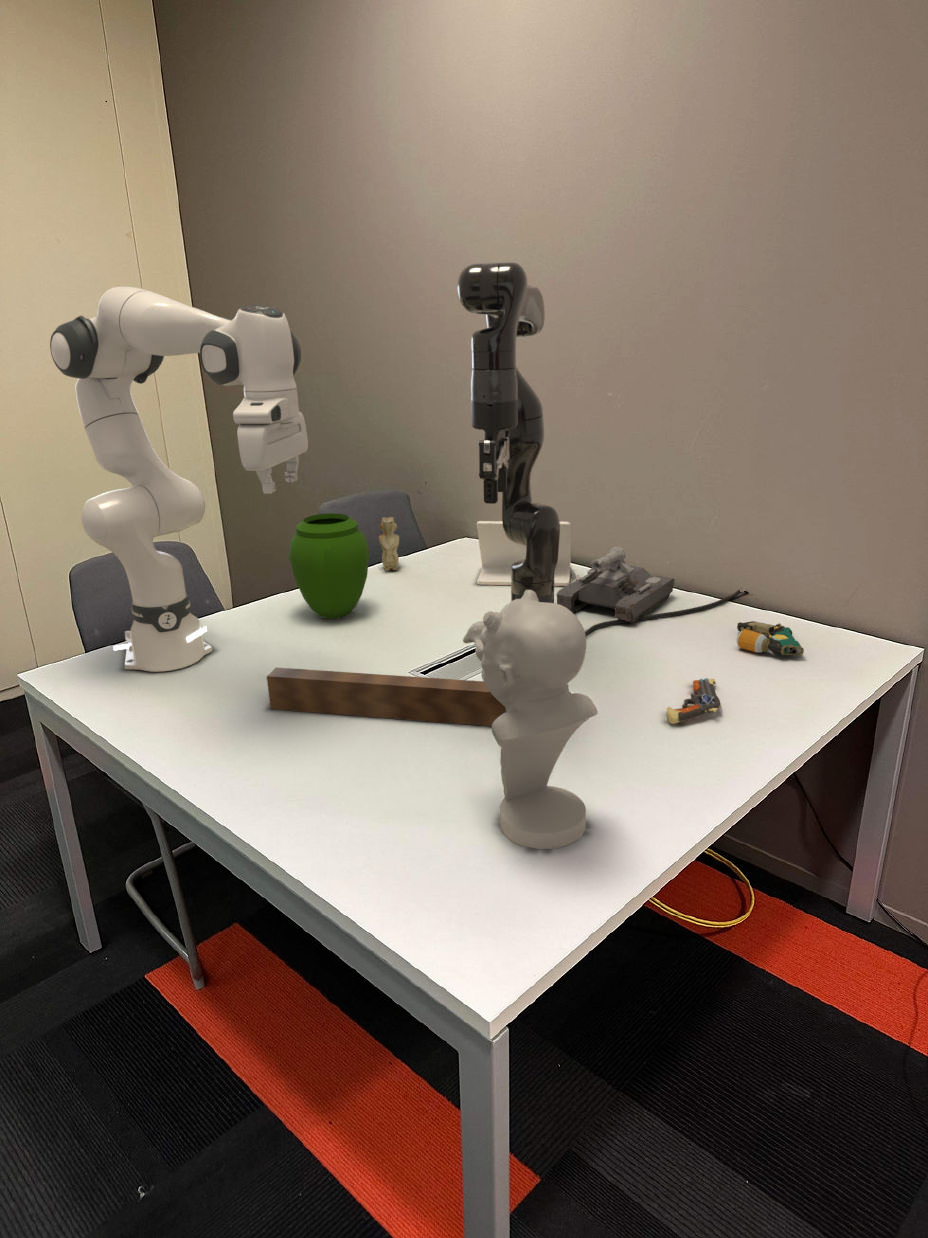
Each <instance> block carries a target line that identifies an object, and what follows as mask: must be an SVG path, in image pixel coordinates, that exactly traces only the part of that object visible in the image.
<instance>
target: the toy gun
mask: <svg viewBox="0 0 928 1238" xmlns="http://www.w3.org/2000/svg"><path fill="white" fill-rule="evenodd" d="M715 685H717V680H716V679H715V678H708V677H706V678H704V679H703V678H700V679H694V680H693V681H692V688H693V692H694V693H690V698H686V699H684V700H683V704H682V706H681V707H682V708H672V707H671V706H667V707H666V717H667V721H668V722H669V723H670V724H678V723H680V722H684V721H688V720H691V719H694V718H697V717H701V716H704V715H707V714H709V713H711V712H713V713H714V714H715V713H717V711H718V709H719V708H722V705H721V700H720V698H719V697H718V695H717V694H716V691H715ZM695 693H696V694H695Z"/></svg>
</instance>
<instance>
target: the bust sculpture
mask: <svg viewBox="0 0 928 1238" xmlns="http://www.w3.org/2000/svg"><path fill="white" fill-rule="evenodd" d="M585 632H586V631H585V629H584V627H583V624H582V622H581V621H580V620H579V618H578V617H577V616H576V615H575V613H574V612H571V611H570V610H569V609H567V608H566V607H564V606H562V605H559V604H557V603H555V602H554V603H545V602H539V599H538V597H537V595H536V593H535V592H534V591H532V590H526V591H525V592H524V595H523V597H522V598H521V599H516V600H513V601H511V600H510V602H509V603H507V604H506V605H505V606H503V607H502V608H501V610H500V611H499V612H498V611H489V610H488V611H486V612H485V613H484V615H483V616H482V621H477V622H475V623H473V624H471V626H470V627H469V628H468V629H467V632H466V634H465V635H464V636H463V638H462V643H463V644H470V643H471V644H472V643H474V644H475V649H474V650H475V655H476V657H477V658H478V660H479V661H480V665H481V679H482V681H484V682H485V683H486V686H487V688H488V689H489V690H490V691H491V694H492V695H493V696H494V697H495V698H496V699H497V700H498V701H499V702H500V703H501V704H502V705H503V706H505V708H506V713H504V714H502V715H501V716H499V717H498V718H497V719H496V720H495V721H494V722H493V724H492V726H491V733H492V735H493V737H494V739H495V742H496V743H497V745H498V746H499V747H500V759H499V760H500V761H499V762H500V775H501V782H502V787H503V795H504V797H503V798H502V800H501V801H500V804H499V808H498V809H499V828H500V830H501V832H502V833H503V835H504V836H505V837H506V838H508V839H509V840H511V841H512V842H513V843H516V844H518V845H519V846H523V847H527V848H531V849H539V850H549V849H550V850H552V849H557V848H562V847H565V846H569V845H571V844H573V843H575V842H576V841H578V840H579V839H580V838H581V837H582V835H583V834H584V833H585V831H586V822H587V808H586V805H585V803H584V801H583V800H582V799H581V798H580V797H579V796H578V795H577V794H575V793H574V792H571V791H570V790H567V789H565V788H562V787H558V786H552V785H548V783H549V780H550V778H551V776H552V773H553V770H554V768H555V766H556V764H557V761H558V759H559V757H560V755H561V753H562V752H563V750H564V749H565V747H566V746H567V743H568V742H569V740H570V738H572V736H573V735H574V733H575V732H576V731H577V730H579V728H580V727H581V726H582V725H583V724H584V723H586V722H587V721H588V720H589V719H591V718H593V717H595V716H597V715H598V714H599V711H598V709H597V707H596V705H595V703H594V702H593V700H592V699H591V698H590V697H589V695H586V694H583V693H575V692H574V693H571V692H570V689H569V683H570V682H572V680H573V679H574V678H576V677H577V675H578V674H579V672H580V671H581V670H582V667H583V664H584V661H585V659H586V658H585V657H586V652H587V636H586V635H585Z"/></svg>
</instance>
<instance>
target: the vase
mask: <svg viewBox="0 0 928 1238" xmlns="http://www.w3.org/2000/svg"><path fill="white" fill-rule="evenodd" d="M358 524H359V523H358V521H356V520H355V519H353V518H352V517H350V516H349V515H347V514H344V513H335V512H334V513H333V512H331V513H320V514H313V515H310V516H307V517H305V518H303V519H302V520H301V521H300V522H299V523H298V524H297V525H296V526H295V532H296V533H295V534H294V536H293V537H292V538H291V540H290V542H289V551H288V559H289V564H290V566H291V567H290V568H291V570H292V575H293V578H294V581H295V584H296V586H297V587H298V589H299V591H300V593H301V596H302V597H303V600H304V601H305V603H306V604H307V605H308V607H309V608H310V609H311V611H312V612H314V613H315V614H316V615H317V616H318V617H320V618H324V619H326V620H327V619H329V620H336V619H341V618H345V617H347V616H349V615H350V614H351V613H352V612H353V611H354V610H355V608H356V607H357V605H358V604H359V601H360V599H361V597H362V595H363V592H364V588H365V586H366V581H367V578H368V570H369V561H370V560H369V559H370V548H369V545H368V541H367V537H366V535H365V534H364V533H363V532H362V531H361V530H360V529H359V527H358Z"/></svg>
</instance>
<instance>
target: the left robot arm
mask: <svg viewBox="0 0 928 1238" xmlns="http://www.w3.org/2000/svg"><path fill="white" fill-rule="evenodd" d="M49 349H50V354H51V355H50V356H51V358H52V361H53V363H54V365H55V366H56V368H57V369H58V371H59V372H60V373H62V374H63V375H64V376H67V377H70V378H74V379H77V381H76V383H75V387H74V389H75V397H76V401H77V407H78V410H79V415H80V418H81V421H82V425H83V427H84V431H85V432H86V435H87V438H88V441H89V443H90V446H91V450H92V452H93V455H94V457H95V461H96V462H97V463H98V465H99V466H100V467H101V468H103V469H104V470H105V471H107V472H109V473H112V474H115V475H119V476H121V477H123V478H124V479H125V480H127V481H128V482H129V483H130V485H131V486H129V487H125V488H119V489H114V490H109V491H106V492H103V493H100V494H98V495H96V496H94V497H91V498H89V499H87V500H86V501H85V503H84V505H83V508H82V510H81V524H82V526H83V527H82V528H83V529H84V532H85V533H86V535H87V536H88V537H89V538H90V540H92V541H93V542H94V543H95V544H98V545H100V546H102V547H104V548H106V549H107V550H109V551H110V552H111V553H112V554H114V555H115V556H116V558H117V559H118V560H119V561H120V563H121V564H122V566H123V568H124V571H125V573H126V578H127V580H128V584H129V589H130V594H131V599H132V601H131V603H130V605H131V608H130V610H131V615H132V619H133V621H132V624H131V626H130V630H125V631H124V638H125V642H127V643H125V644H118V645H114V646H112V648H113V651H119V650H125V658H124V670H130V671H131V670H139V671H144V672H153V673H159V672H169V671H175V670H176V671H177V670H179V669H184V668H187V667H190V666H192V665H194V664H196V663H197V662H199V661H200V660H201V659H203V657H205V656H206V655H209V654H210V653H212V652H213V650H214V649H213V646H212V645H211V644H209V643H207V642H205V641H204V637H203V634H204V633H207V632H208V629H207V626H203V627H201V622H200V621H201V620H200V619H199V617H197V616H196V615H195V614H193V613H191V612H192V610H191V609H192V608H191V601H190V598H189V594H187V591H186V583H185V578H184V572H183V565H182V563H181V562H180V560H179V559H178V558H177V557H175V556H174V555H172V554H170V553H167V552H164V551H160V550H157V549H156V547H155V545H154V538H156V537H160V536H164V535H169V534H173V533H178V532H182V531H184V530H186V529H188V528H191V527H193V526H195V525H196V524H198V523H200V522H201V521H202V520H203V517H204V514H205V511H206V503H205V497H204V495H203V493H202V491H201V490H200V488H199V487H198V486H197V485H196V484H195V483H194V482H192V481H191V480H189V479H186V478H183V477H181V476H180V475H178V474H177V473H176V472H174V471H173V470H172V469H170V467H168V466H167V465H166V463H164V462H163V460H161V458H160V457H159V456H158V454H157V453H156V451H155V449H154V447H153V445H152V443H151V441H150V439H149V436H148V435H147V434H148V433H147V432H146V429H145V427H144V424H143V421H142V418H141V415H140V414H139V410H138V409H137V406H136V404H135V402H134V399H133V396H132V392H131V390H132V389H131V388H132V384H133V382H135V383H137V384H139V385H141V384H144V383H146V381H147V379H148V378H149V376H152V375H153V374H154V373H156V372H157V371H158V370H159V368H160V367H161V365H162V363H163V362H164V358H165V357H172V356H182V355H191V354H199V357H200V364H201V366H202V369H203V371H204V373H205V375H206V376H207V377H208V378H209V380H211V381H212V382H213V383H215V384H216V385H219V386H226V387H231V386H233V387H234V386H242V385H243V396H244V398H243V399H242V400H241V402H240V404H239V405H238V406H236V408H235V409H234V410H233V413H232V417H233V418H232V419H233V422H234V424H236V425H238V427H237V432H236V433H237V434H236V436H237V444H238V450H239V457H240V461H241V465H242V466H243V468H244V470H245V471H247V472H256V476H257V478H258V480H259V482H260V483H261V489H262V493H263V494H265V495H271V494H274V493H276V490H277V488H276V482H275V481H273V478H272V475H271V474H272V472H273V471H272V468H273V467H276V466H277V465H279V464H282V463H285V462H286V467H285V468H286V470H285V471H284V480H285V482H286V483H295V482H297V481H298V469H299V463H300V457H299V456H300V455H302V454H304V453H307V452H308V449H309V438H308V431H307V425H306V421H305V416H304V414H303V413H302V411H300V406H299V397H298V386H297V383H296V381H295V377H294V376H295V375H296V373H297V371H298V369H299V367H300V364H301V360H302V350H301V346H300V343H299V340H298V338H297V337H296V336H295V334H294V333H293V332H292V331H291V328H290V324H289V322H288V319H287V316H286V314H285V312H284V311H282V310H281V309H279V308H276V307H273V306H270V305H269V306H268V305H259V304H258V305H257V304H254V305H244V306H241V307H240V308H239V309H237V312H236V314H235V316H234V317H233V319H232V318H228V317H224V316H220V315H216V314H212V313H210V312H207V311H205V310H202V309H199V308H197V307H194V306H190V305H188V304H185V303H182V302H180V301H177V300H174V299H172V298H170V297H167V296H164V295H162V294H160V293H157V292H154V291H151V290H148V289H145V288H141V287H136V286H135V287H134V286H115V287H111V288H109V289H108V290H106V291H105V292H104V293H103V294H102V295H101V297H100V299H99V302H98V305H97V314H96V316H94V317H92V318H87V317H85V316H84V315H79V316H77V317H75V318H74V319H73V320H69V321H67V322H64V323H62V324H60V325H58V326H57V327H56V328H55V329H54V331H53V332H52V334H51V337H50V340H49Z"/></svg>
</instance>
